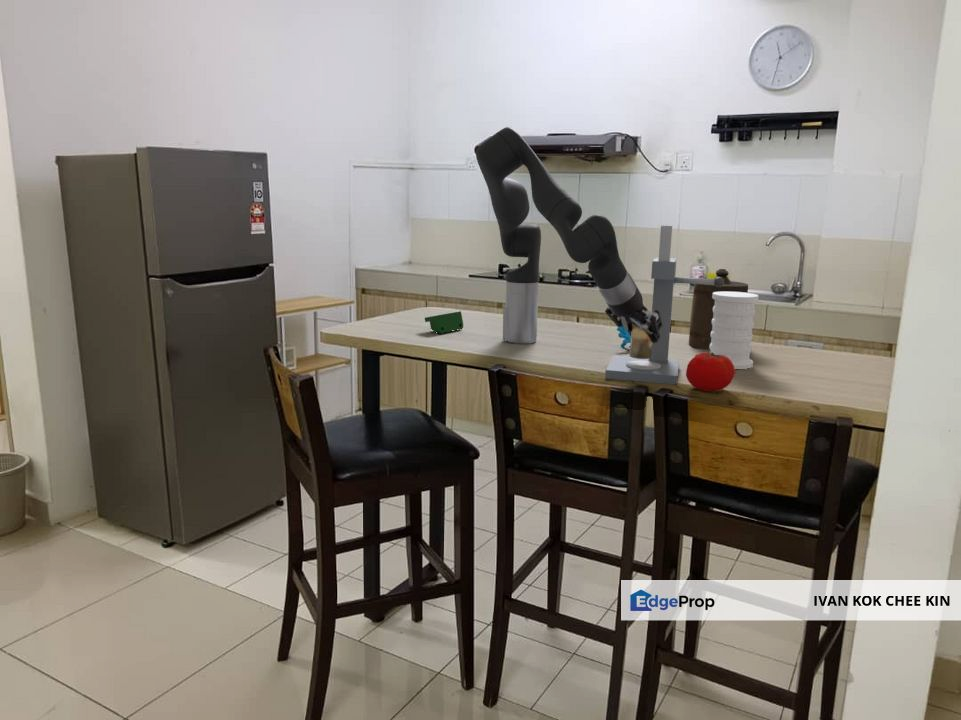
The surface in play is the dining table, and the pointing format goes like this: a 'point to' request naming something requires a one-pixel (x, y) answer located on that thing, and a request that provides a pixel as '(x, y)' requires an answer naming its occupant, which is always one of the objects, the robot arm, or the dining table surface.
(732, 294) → the decorative container
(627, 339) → the gear
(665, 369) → the press
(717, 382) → the tomato
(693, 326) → the wooden container
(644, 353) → the disc
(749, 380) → the dining table surface
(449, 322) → the dark green angular piece
